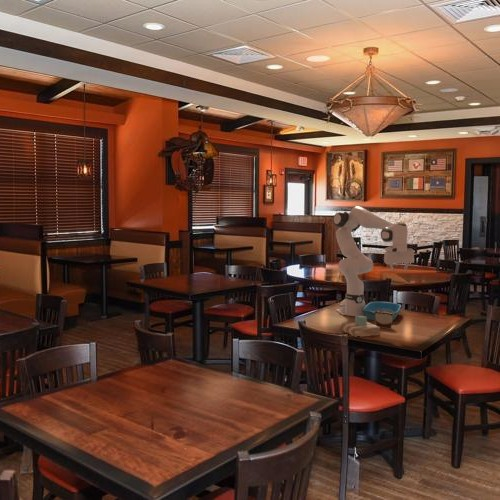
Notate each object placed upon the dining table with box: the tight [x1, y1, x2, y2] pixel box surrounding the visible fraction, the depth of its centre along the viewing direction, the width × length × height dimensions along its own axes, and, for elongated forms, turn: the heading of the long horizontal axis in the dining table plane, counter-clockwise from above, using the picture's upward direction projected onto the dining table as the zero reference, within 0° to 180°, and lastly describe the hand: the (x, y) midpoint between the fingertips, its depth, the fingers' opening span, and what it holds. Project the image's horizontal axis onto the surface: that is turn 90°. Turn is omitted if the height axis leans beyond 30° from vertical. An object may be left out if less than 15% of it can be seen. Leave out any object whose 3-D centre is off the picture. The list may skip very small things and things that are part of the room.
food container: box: [374, 310, 394, 329], centre depth 342 cm, size 12×6×10 cm, turn 59°
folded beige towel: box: [341, 321, 381, 338], centre depth 328 cm, size 16×16×5 cm
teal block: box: [354, 315, 368, 326], centre depth 327 cm, size 5×5×5 cm
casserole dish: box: [363, 301, 402, 322], centre depth 370 cm, size 37×22×7 cm, turn 158°
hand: (398, 270), depth 348 cm, fingers open, 8 cm apart
